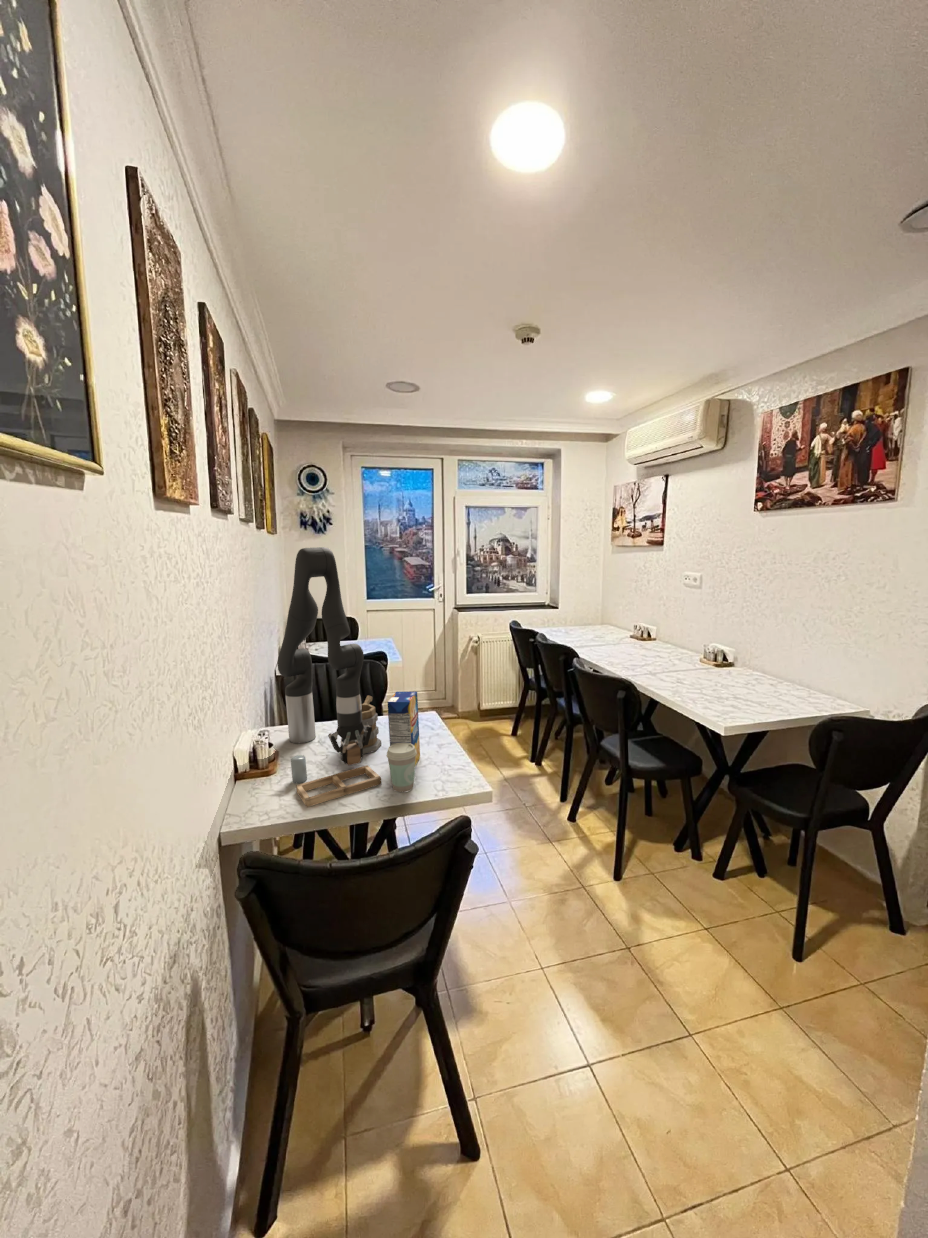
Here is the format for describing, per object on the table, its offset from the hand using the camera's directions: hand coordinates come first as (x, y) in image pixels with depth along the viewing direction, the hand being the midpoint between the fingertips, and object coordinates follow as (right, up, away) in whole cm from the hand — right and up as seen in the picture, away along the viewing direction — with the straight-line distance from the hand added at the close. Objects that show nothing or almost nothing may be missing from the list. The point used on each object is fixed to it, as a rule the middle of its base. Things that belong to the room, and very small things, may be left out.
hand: (352, 760), depth 155 cm
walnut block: (0, 0, 0) cm, 0 cm away
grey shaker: (-14, -4, -7) cm, 16 cm away
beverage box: (+17, -2, +2) cm, 17 cm away
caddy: (-1, -4, -13) cm, 13 cm away
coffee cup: (+18, -4, -14) cm, 23 cm away
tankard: (0, 0, +20) cm, 20 cm away
